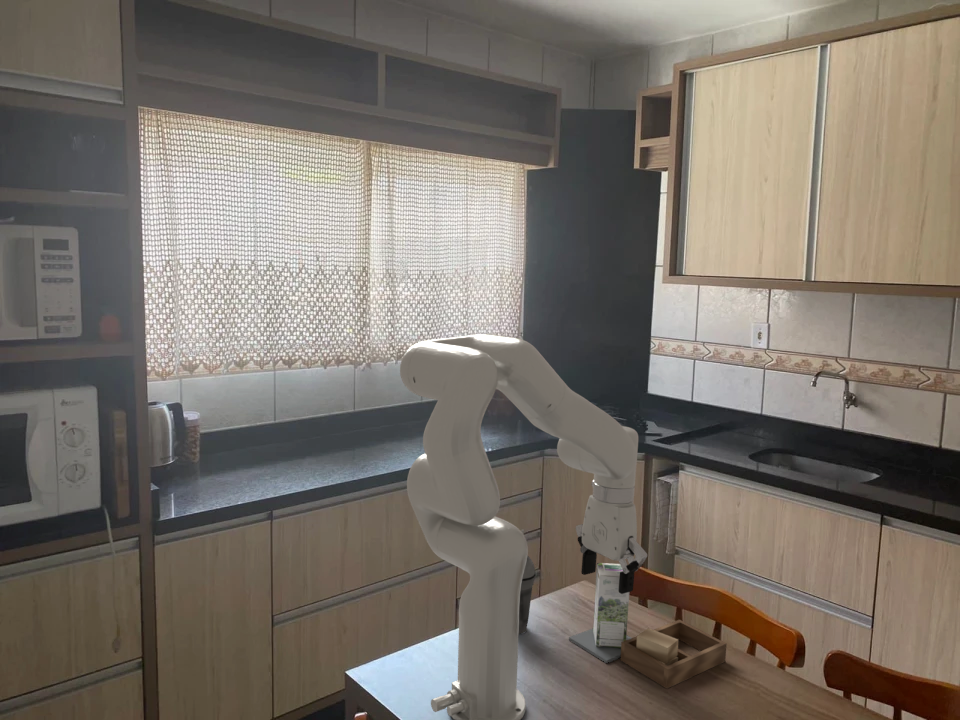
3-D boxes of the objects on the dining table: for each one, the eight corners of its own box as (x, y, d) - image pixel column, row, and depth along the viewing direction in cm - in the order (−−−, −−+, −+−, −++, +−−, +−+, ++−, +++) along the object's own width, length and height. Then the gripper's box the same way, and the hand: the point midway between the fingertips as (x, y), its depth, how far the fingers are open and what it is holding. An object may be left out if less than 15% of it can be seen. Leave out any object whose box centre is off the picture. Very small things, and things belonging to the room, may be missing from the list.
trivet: (606, 663, 134) (606, 660, 134) (568, 639, 142) (569, 637, 142) (644, 648, 140) (644, 645, 140) (606, 626, 148) (606, 623, 148)
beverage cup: (489, 627, 146) (491, 530, 143) (515, 616, 151) (518, 521, 148) (515, 642, 141) (518, 541, 138) (541, 630, 145) (545, 532, 143)
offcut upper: (666, 664, 129) (667, 647, 129) (636, 651, 133) (637, 635, 133) (677, 655, 132) (678, 639, 132) (647, 643, 136) (648, 627, 135)
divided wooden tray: (666, 688, 126) (667, 669, 126) (620, 660, 135) (621, 642, 135) (725, 661, 136) (726, 643, 135) (678, 636, 144) (679, 619, 144)
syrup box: (622, 634, 143) (626, 562, 142) (626, 649, 138) (630, 575, 136) (592, 632, 144) (596, 561, 142) (595, 648, 138) (599, 573, 136)
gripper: (566, 483, 142) (560, 570, 143) (634, 508, 128) (626, 604, 129) (595, 479, 146) (588, 563, 148) (663, 503, 132) (655, 595, 134)
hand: (606, 582), depth 138 cm, fingers open, 9 cm apart
